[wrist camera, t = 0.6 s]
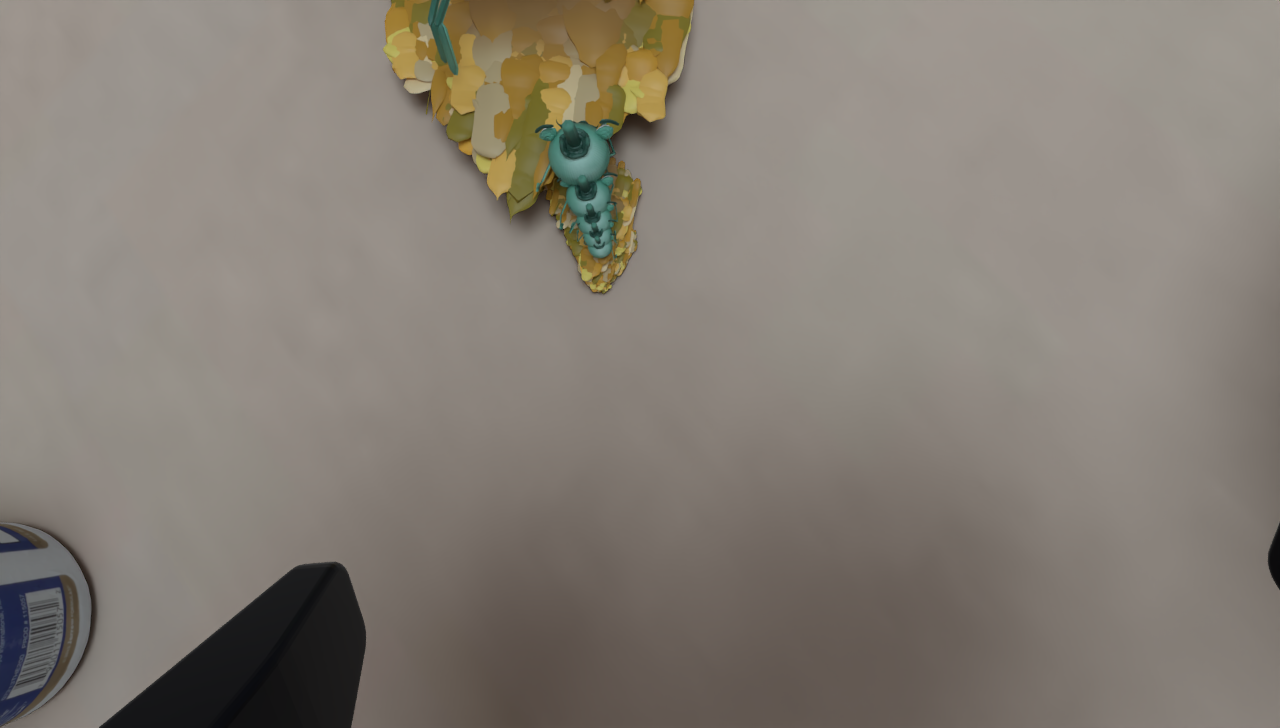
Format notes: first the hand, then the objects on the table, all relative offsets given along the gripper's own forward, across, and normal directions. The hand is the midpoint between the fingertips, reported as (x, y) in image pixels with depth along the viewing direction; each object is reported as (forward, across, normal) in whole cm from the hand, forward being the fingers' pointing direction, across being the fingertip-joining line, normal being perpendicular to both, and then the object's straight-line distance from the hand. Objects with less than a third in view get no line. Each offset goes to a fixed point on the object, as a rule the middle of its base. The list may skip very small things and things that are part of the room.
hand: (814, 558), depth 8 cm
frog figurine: (+21, +4, -4) cm, 22 cm away
